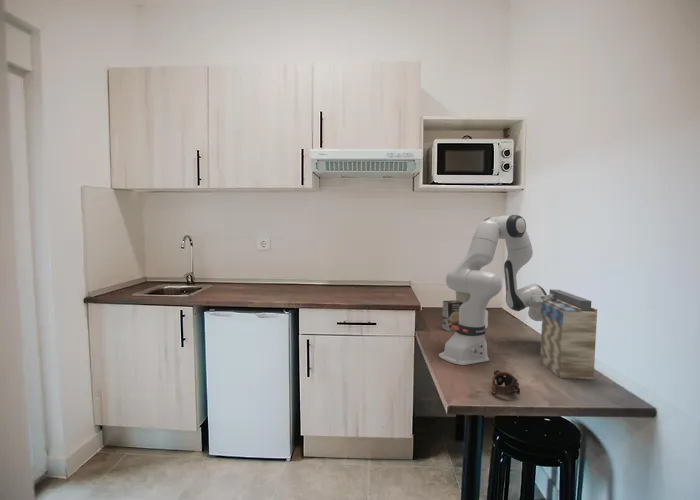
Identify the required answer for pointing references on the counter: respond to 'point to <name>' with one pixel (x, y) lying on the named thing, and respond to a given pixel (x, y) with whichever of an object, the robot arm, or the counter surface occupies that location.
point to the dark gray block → (572, 299)
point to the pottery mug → (509, 382)
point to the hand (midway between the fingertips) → (561, 295)
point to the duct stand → (568, 339)
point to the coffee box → (450, 314)
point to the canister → (462, 297)
